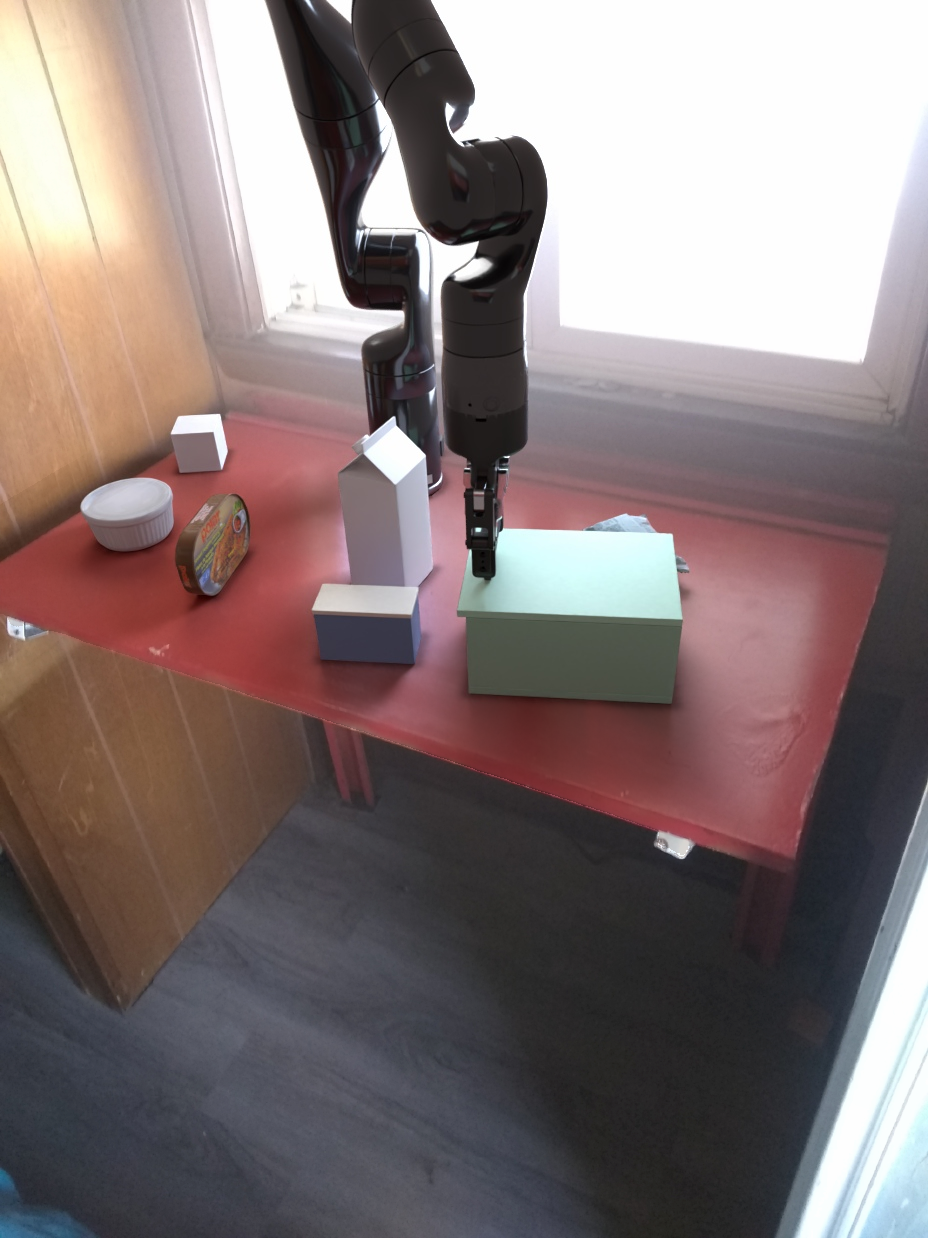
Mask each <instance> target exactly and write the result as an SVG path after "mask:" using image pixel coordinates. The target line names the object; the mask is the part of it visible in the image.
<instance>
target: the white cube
mask: <svg viewBox="0 0 928 1238" xmlns="http://www.w3.org/2000/svg"><path fill="white" fill-rule="evenodd" d="M224 431H225V430H224V428H223V422H222V417H221V413H213V414H212V413H211V414H196V415H195V414H194V415H193V414H192V415H177V418H176V420H175V423H174V425H173V427H172V430H171V431H170V439H171V443H172V447H173V451H174V456H175V459H176V464H177V467H178V471H179V474H184V473H202V472H215V471H216V472H217V471H223V468H224V464H225V462H226V458H227V455H228V452H229V451H228V450H229V449H228V446H227V442H226V436H225V432H224Z"/></svg>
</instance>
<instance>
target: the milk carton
mask: <svg viewBox="0 0 928 1238" xmlns="http://www.w3.org/2000/svg"><path fill="white" fill-rule="evenodd" d="M351 449H352V450H353V451H354V453H355V454H356V455H357V456H355V457H354V458H353V459H352V460H351V461H350V462H348V463H347V464H346V465H345V466H343V468H342V469H340V470H339V471H338V472H337V481H338V482H337V483H338V489H339V490H338V491H339V498H340V506H341V511H342V512H341V513H342V519H343V528H344V534H345V535H344V536H345V543H346V551H347V557H348V565H349V573H350V578H351V579H350V580H351V581H350V582H351V585H373V586H398V587H418V588H419V586H420V585H421V584H422V583H423V582H424V580H425V579H426V578H427V577H428V576H429V574H430V573H432V571H433V570H434V562H433V560H434V559H433V546H432V531H431V530H432V529H431V516H430V500H429V495H428V484H427V469H426V455H425V454H424V453H423V452H422V451H421V450H420V449H419V448H418V447H417V446H416V445H415V444H414V443H413V442H412V441H411V440H410V439H409V438H408V437H407V436H406V435H405V434H404V433H403V432H402V431H401V430H400V429H399V428H398V427H397V426H396V419H395V417H394V416H393V417H392V418H391V419H390V420H388V421H387V422H386V423H385V424H384V425H383V426H381V427H380V428H379V429H378V430H377V431H375V432H374V433H373V434H372V435H371V436H370V435H368V434H365V435H363V436H362V437H361V438H360V439H359V440H357V441H356V442H355V443H354V444H352V445H351Z"/></svg>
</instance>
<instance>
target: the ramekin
mask: <svg viewBox="0 0 928 1238" xmlns="http://www.w3.org/2000/svg"><path fill="white" fill-rule="evenodd" d="M173 500H174V495H173V491H172V488H171V487H170V485H168V484H167V483H166V482H164V481H163V480H159V479H156V478H151V477H132V478H125V479H120V480H116V481H113V482H109V483H107V484H104V485H101V486H99V487H98V488H96V489H94V490H92V491H91V492H90V493H88V494H87V495H85V497H84V498H83V499H82V500H81V503H80V506H79V508H80V513H81V515H82V517H83V519H84V520H85V521H86V523H87V524H88V527H89V528H90V530H91V532H92V534H93V536H94V537H95V539H96V541H97V542H98V543H99V544H100V545H102V546H103V547H104V548H106V549H108V550H112V551H114V552H135V551H140V550H144V549H147V548H150V547H153V546H155V545H157V544H159V543H161V542H162V541H164V539H166V538H167V537H168V536H169V534H170V533H171V531H172V530H173V527H174V522H175V520H174V510H173Z"/></svg>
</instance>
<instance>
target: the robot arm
mask: <svg viewBox="0 0 928 1238" xmlns="http://www.w3.org/2000/svg"><path fill="white" fill-rule="evenodd" d="M264 3H265V6H266V10H267V12H268V17H269V19H270V23H271V26H272V31H273V34H274V37H275V41H276V45H277V49H278V52H279V55H280V56H279V57H280V59H281V63H282V67H283V70H284V74H285V79H286V81H287V86H288V87H287V88H288V90H289V94H290V98H291V101H292V105H293V109H294V112H295V116H296V120H297V123H298V126H299V130H300V133H301V136H302V139H303V141H304V144H305V147H306V150H307V153H308V156H309V160H310V163H311V166H312V169H313V172H314V176H315V179H316V182H317V186H318V190H319V192H320V197H321V200H322V203H323V208H324V212H325V217H326V221H327V226H328V232H329V235H330V240H331V245H332V252H333V256H334V261H335V265H336V269H337V275H338V278H339V282H340V285H341V289H342V293H343V295H344V297H345V298H346V300H347V301H348V303H349V304H350V305H351V306H352V307H353V308H356V309H360V310H365V311H388V312H389V311H391V312H392V311H393V312H399V311H400V312H403V320H401V321H400V322H399V323H396V324H394V325H393V326H390V327H387V328H384V329H381V330H379V331H377V332H375V333H372V334H371V335H369V336H367V338H365V340H363V343H362V344H361V346H360V347H361V348H360V357H361V365H362V366H361V367H362V375H363V384H364V391H365V402H366V411H367V423H368V431H369V436H371V435H372V434H373V433H374V432H375V431H377V430H378V429H379V428H380V427H381V426H383V425H384V424H385V423H386V422H387V421H388V420H390V419H391V418H392V417H393V416H394V417H395V419H396V426H397V427H398V428H399V429H400V430H401V431H402V432H403V433H404V434H405V435H406V436H407V437H408V438H409V439H410V440H411V441H412V442H413V443H414V444H415V445H416V446H417V447H418V448H419V449H420V450H421V451H422V452H423V453H424V454H425V455H426V469H427V484H428V496H430V495H432V494H434V493H435V492H437V491H438V490H439V489H440V488H441V487H442V485H443V481H444V479H443V472H442V459H441V458H442V457H443V455H444V452H445V446H446V448H447V449H448V450H449V451H450V452H452V453H453V454H455V455H456V456H458V457H461V458H464V459H466V467H464V468H463V475H462V483H463V486H464V488H465V489H464V492H463V499H464V518H465V538H466V539H465V540H464V545H465V546H466V550H469V549H471V551H472V574H473V576H474V577H477V578H493V577H495V575H496V541H497V542H498V536H497V522H498V520H500V521H501V524H500V530H499V532H501V531H502V530H503V528H504V525H505V524H504V516H505V515H504V501H505V494H506V493H507V488H508V487H509V475H510V467H511V466H510V465H511V458H510V457H512V456H514V455H515V454H518V453H519V452H521V451H522V450H523V449H524V448H525V447H526V445H527V443H528V440H529V387H530V386H529V381H530V380H529V378H530V376H529V375H530V374H529V370H530V369H529V359H528V355H527V354H528V353H527V292H528V288H529V284H530V280H531V278H532V275H533V271H534V267H535V263H536V259H537V255H538V251H539V248H540V244H541V240H542V236H543V232H544V228H545V224H546V221H547V215H548V208H549V199H550V185H549V183H550V182H549V177H548V170H547V167H546V164H545V161H544V159H543V156H542V154H541V153H540V151H539V149H538V147H537V146H536V144H534V143H533V141H531V139H529V138H528V137H526V136H524V135H522V134H518V133H512V132H511V133H509V132H507V133H500V134H494V135H489V136H483V137H478V138H473V139H472V138H471V139H465V140H461V141H459V140H458V139H457V138H456V137H455V136H454V135H455V134H456V133H457V132H458V131H460V130H461V129H462V128H463V127H464V126H465V125H467V122H469V120H470V118H471V117H472V116H473V114H474V112H475V110H476V106H477V103H478V88H477V85H476V82H475V79H474V76H473V74H472V71H471V70H470V68H469V66H468V64H467V62H466V60H465V58H464V57H463V54H462V53H461V51H460V50H459V48H458V45H457V44H456V42H455V40H454V38H453V37H452V35H451V32H450V31H449V29H448V28H447V25H446V23H445V22H444V20H443V18H442V15H440V12H439V11H438V9H437V6H436V5H435V3H434V2H433V0H351V9H350V10H351V12H350V21H349V20H348V19H347V18H346V17H344V15H343V14H342V13H340V12H339V11H338V10H337V9H336V8H335V7H334V6H333V5H332V4H331V3H330V2H329V1H328V0H264ZM393 130H394V133H395V137H396V141H397V145H398V150H399V153H400V157H401V161H402V165H403V169H404V173H405V179H406V183H407V189H408V193H409V199H410V201H411V205H412V206H411V207H412V208H413V212H414V214H415V217H416V219H417V221H418V222H419V223H420V225H421V227H422V228H423V229H424V230H425V231H424V230H423V229H422V228H416V227H369V226H367V225H366V224H365V222H364V220H363V216H362V210H363V206H364V204H365V200H366V197H367V194H368V193H369V190H370V188H371V186H372V184H373V182H374V181H375V178H376V176H377V174H378V172H380V171H379V170H380V169H381V167H382V164H383V163H384V160H385V158H386V156H387V153H388V150H389V147H390V145H391V142H392V135H393ZM428 234H429V235H430V237H432V238H433V239H435V240H436V241H437V242H438V243H441V244H442V245H445V246H450V247H460V246H465V245H469V244H473V243H477V246H476V249H475V252H474V254H473V255H472V257H471V258H470V259H468V260H467V261H466V262H465V263H464V264H462V265H461V266H459V267H458V268H455V269H454V270H453V271H451V272H450V273H449V274H448V275H446V277H445V278H444V279H443V282H442V283H441V289H440V316H441V339H442V340H441V341H442V356H441V365H440V366H441V367H440V380H441V398H442V417H443V418H442V419H443V434H440V420H439V403H438V383H437V368H436V351H435V350H436V348H435V315H434V312H435V311H434V275H435V273H434V271H435V270H434V254H433V247H432V243H431V240H430V237H429V235H428ZM476 528H486V529H487V530H488V532H476Z"/></svg>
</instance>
